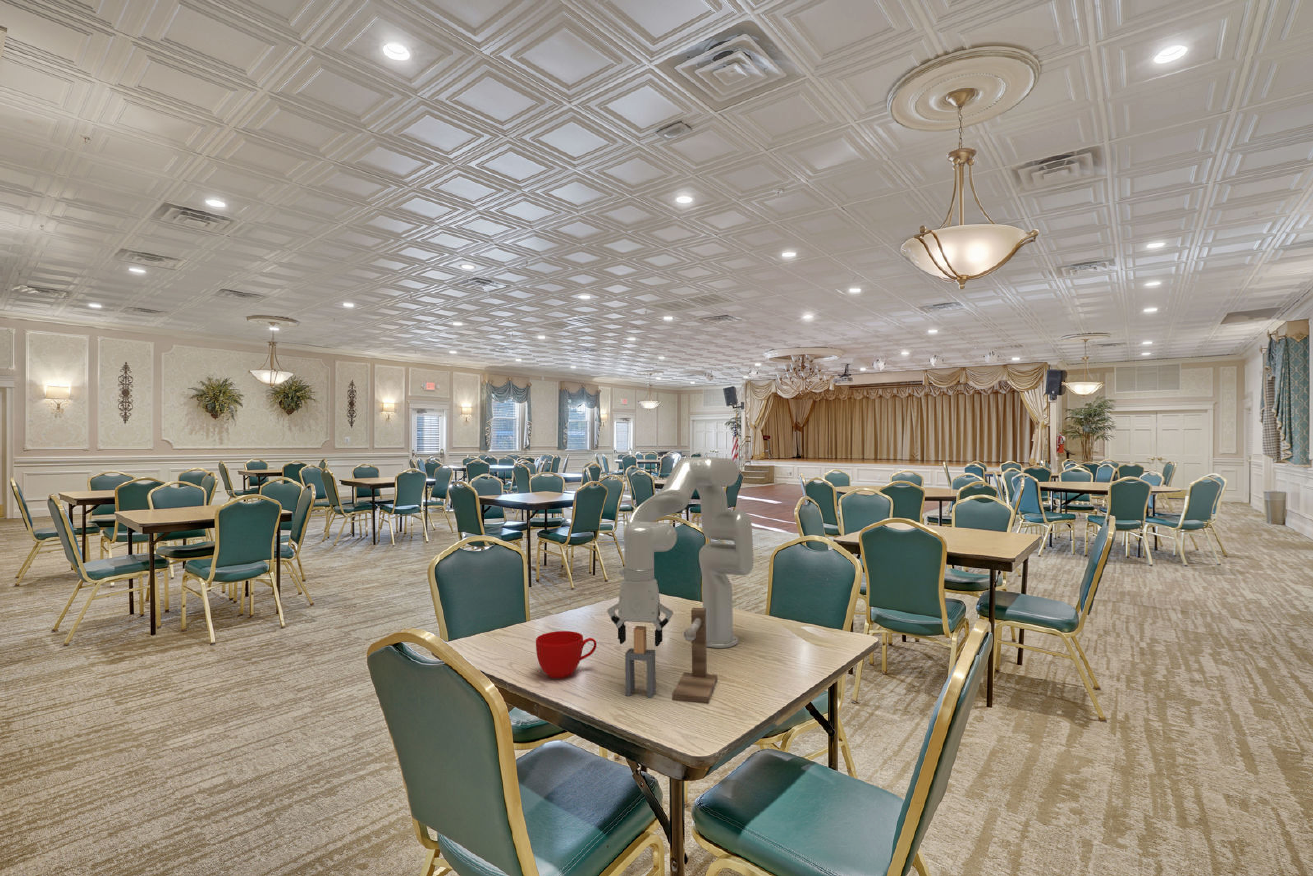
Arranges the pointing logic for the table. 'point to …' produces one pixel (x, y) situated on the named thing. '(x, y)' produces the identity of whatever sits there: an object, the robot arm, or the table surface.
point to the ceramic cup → (561, 652)
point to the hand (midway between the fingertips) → (640, 643)
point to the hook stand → (696, 664)
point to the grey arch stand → (642, 655)
